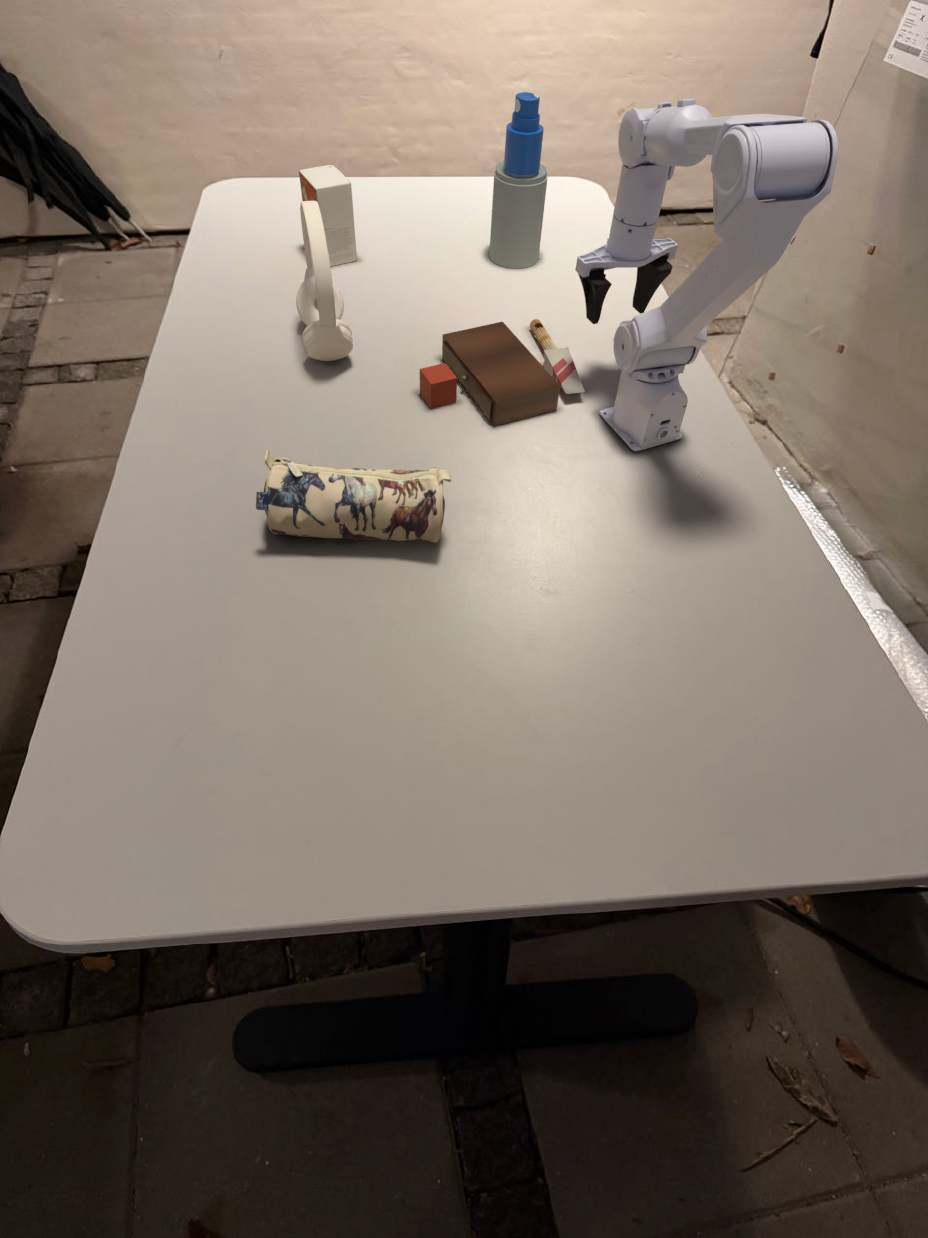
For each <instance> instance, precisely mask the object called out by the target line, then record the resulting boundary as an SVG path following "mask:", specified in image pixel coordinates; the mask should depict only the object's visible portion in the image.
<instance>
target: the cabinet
mask: <svg viewBox="0 0 928 1238" xmlns="http://www.w3.org/2000/svg"><path fill="white" fill-rule="evenodd" d="M441 339H442V340H441V341H442V343H441V347H442V348H441V358H442V360H443V362H444V363H446V364H447V366H448V367H449V368H450V370H451V371H452V372H453V373H454V375H455V376H456V377H457V381H459V383H460V384H461V385H462V386H463V388H464V389H465V390H466V392H467V393H468V395H470V397H471V398H472V399H473V401H474V402H475V403H476V405H477V406H478V407H479V408H480V411H482V413H483V414H484V415H485V417H486V418H487V419H488V420H489V422H490V423H491V425H492V426H493V427H496V426H500V425H504V424H508V423H511V422H515V421H520V420H523V419H527V418H531V417H534V416H539V415H542V414H546V413H550V412H555V411H557V409H558V405H559V397H560V392H561V391H560V389H561V387H560V385H559V384H558V383H557V382H556V381H555V380H554V378H553V377H552V376H551V375H550V374H549V373H548V372H547V371H546V369H545V368H544V367H543V364H541V363H540V361H538V359H537V358H536V357H535V356H534V355H533V353H531V352H530V350H529V349H528V348H527V347H526V345H524V343H523V342H522V341H521V340H520V339H519V338H518V337H517V336H516V335H515V334H514V332H513V331H512V330H511V329H510V328H509V327H508V326H507V324H506V323H505V322H504V321H499V322H494V323H490V324H489V323H488V324H484V325H480V326H475V327H470V328H467V329H466V328H465V329H461V330H458V331H453V332H448V333H443V334H442V337H441Z"/></svg>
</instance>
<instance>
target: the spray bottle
mask: <svg viewBox="0 0 928 1238" xmlns="http://www.w3.org/2000/svg"><path fill="white" fill-rule="evenodd" d="M540 100H541V97H540V96H538V97H536V96H535V94H534V93H532V92H528V91H525V92H523V91H522V92H518V93H516V94H515V98H514V111H513V112H512V114H511V122H509V123H507V124H506V128H505V129H506V130H505V143H504V158H503V160H501V161H500V162H498V163H497V164H496V166H495V170H494V172H493V187H492V203H491V204H492V205H491V221H490V237H489V253H488V254H489V255H488V258H489V259H490V261H492V262H493V263H494V264H495V265H498V266H500V267H502V268H506V269H517V270H519V269H527V268H529V267H532V266H534V265H536V264H537V263H538V261H539V258H540V247H541V240H542V231H543V222H544V212H545V204H546V195H547V185H548V169H547V167H546V166H545V165H544V164H542V163H541V158H542V151H543V150H542V149H543V140H544V139H543V138H544V129H545V128H544V126H543V125H542V124H540V119H541V114H540V113H539V112H540V111H539V110H540V109H539V108H540Z"/></svg>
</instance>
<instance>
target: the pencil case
mask: <svg viewBox="0 0 928 1238" xmlns="http://www.w3.org/2000/svg"><path fill="white" fill-rule="evenodd" d="M264 463H265V465H266V466H267V468H268V473H267V476H266V479H265V481H264V482H265V483H264V486H263V491H256V497H255V498H256V499H255V500H256V501H255V509H256V510H258V511H264V513H265V515H266V522H267V523H266V524H267V527H268V529H269V531H270V532H271V533H272V534H273V535H285V536H286V535H289V536H293V537H298V538H299V537H300V538H320V539H321V538H322V539H348V540H363V541H369V540H382V541H383V540H384V541H391V540H392V541H397V542H403V541H416V540H421V541H428V542H431V543H437V542H438V541H439V539H440V538H441V535H442V529H443V525H444V519H445V513H446V512H445V511H446V501H445V496H444V481H445V482H448V483H451V482H452V476H451V473H450V472H449V471H448V469H443V468H438V467H431V468H429V469H427V470H420V469H413V470H411V469H410V470H406V469H396V468H395V469H394V468H393V469H392V468H391V469H390V468H389V469H373V468H359V467H351V468H335V467H326V466H325V467H324V466H321V465H312V464H305V463H299V462H298V463H297V462H294V461H292V460H291V459H290V458H287V457H275V458H273V456H272V454H271V453H270V450H269V449H266V451H265V455H264Z"/></svg>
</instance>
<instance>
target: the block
mask: <svg viewBox="0 0 928 1238" xmlns="http://www.w3.org/2000/svg"><path fill="white" fill-rule="evenodd" d="M457 390H458V378H457V377H456V376H455V374H454V373H453V372H452V371H451V369H450V368H449V367H448V365H447V364H446V363H445V362H442V363H439V364H434V365H430V366H426V367H422V368H419V394H420V396H421V397H422V398H423V399H424V401H425V402H426V404H427V405H428V407H429V408H430V409H434V408H437V407H442V406H446V405H450V404H453V403H454V404H455V403H457Z"/></svg>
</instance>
